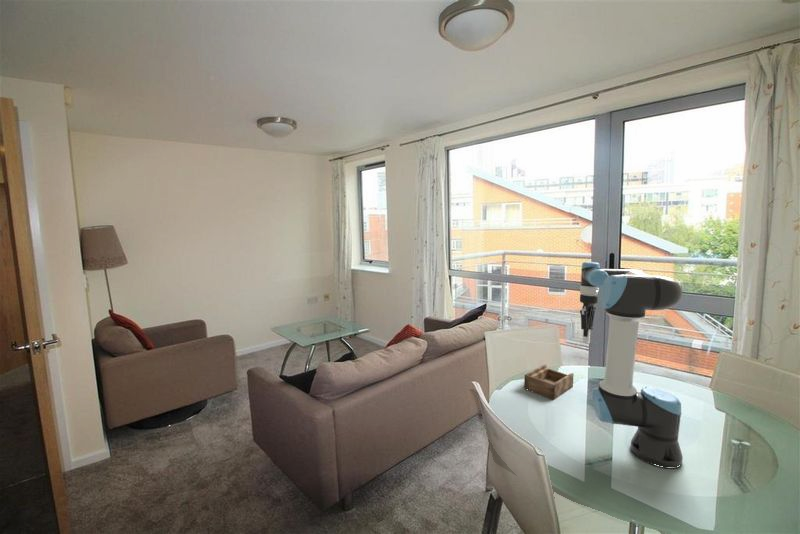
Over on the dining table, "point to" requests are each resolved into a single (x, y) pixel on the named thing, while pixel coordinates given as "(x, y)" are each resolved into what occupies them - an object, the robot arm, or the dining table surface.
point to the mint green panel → (575, 377)
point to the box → (548, 382)
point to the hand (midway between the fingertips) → (586, 342)
